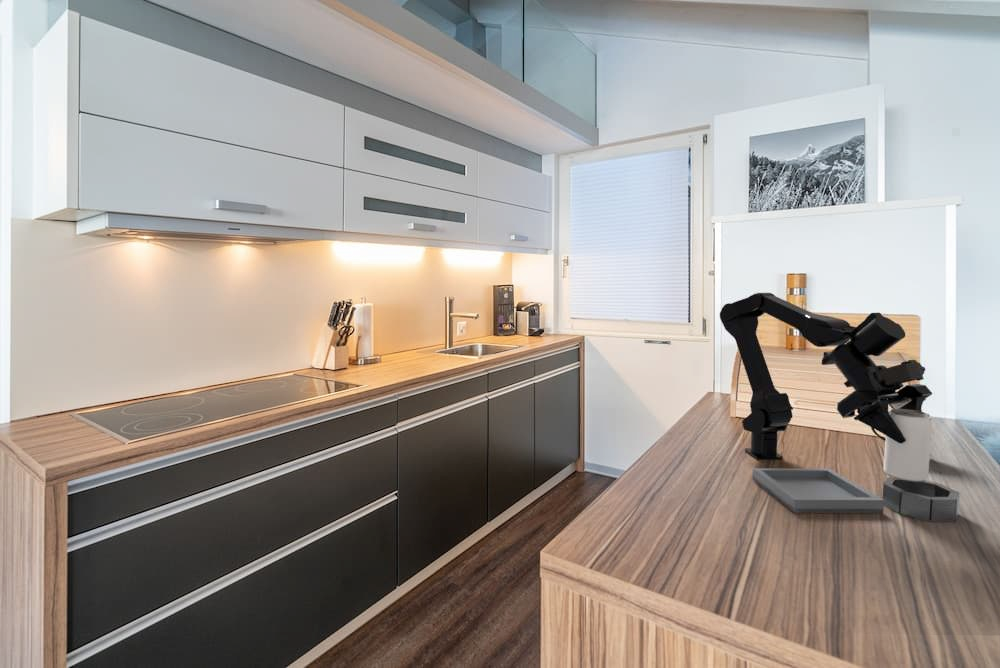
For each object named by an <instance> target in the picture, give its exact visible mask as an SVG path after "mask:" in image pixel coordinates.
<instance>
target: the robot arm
mask: <svg viewBox="0 0 1000 668" xmlns="http://www.w3.org/2000/svg"><path fill="white" fill-rule="evenodd" d="M765 314H767V315H769V316H770V317H772V318H774V319H777V320H778V321H781V322H783V323H784V324H787V325H789V326H790V327H792V328H794V329H796V330H797V331H798V332H799V333H800V334H801V336H802V338H803V339H804V340H806V341H808V342H809V343H811V345H813V346H814V347H817V348H824V347H825V348H826V347H829V348H830V347H835V348H834V349H832V350H831V351H824V352H823V356H822V359H821V365H822V366H827V365H835V367H836V368H837V369H838V370H839V372H840V373H841V375H843V376H844V378H845V379H846V381H845V382H844V383H843V384H844V386H845V387H846V388H853V390H854V391H852V392H851V393H850V394H848V395H847V396H845V397H844V398H842V400H840V401H839V402H837V403H836V411H837V412H838V413H839V415H840V416H841V417H842V418H843V419H846V418H853V419H854V420H855V421H859V422H860V423H862V424H865V425H867V426H868V427H870V428H871V427H872V428H874V430H875V431H876V432H877V431H878V432H879V433H881V434H883V435H884V436H885V437H886V436H888V437H890V438H891V439H893V440H895V441H896V442H898V443H903V442H905V441H906V439H905V438H904V436H903V434H902V432H901V431H900V429H899V428H898V426H897V425H896V423H895V422H894V420H893V419H892V418H891V416H890V415H889V413H888V411H889V407H890V408H891V409H908V410H916V411H921V412H923V410H922V406H923V403H924V402H925V401H926V400H927V398H929V397H930V396H932V395H933V392H932V391H931V390H930V388H928V386H927V385H926V384H920V383H917V384H908V385H905V386H904V383H909V382H913V381H918V382H919V381H922V380H924V376H923V375H924V374H925V371H926V367H925V366H923V365H922V364H921V362H918V361H917V360H916V359H908V360H907V361H901V363H900V364H897V365H894V366H890V367H887V366H885V365H877V364H876V363H875V361H873V360H872V358H871V357H870V356H873V357H881V356H882V355H883V354H884V353H886V352H887V351H888V350H889V349H891V348H893V347H894V346H895V345H896V344H898V343H899V342H900V341H902V340H903V339H904V338H905V337H906V331H905V330H904V328H903V327H902V326H901V325H900V324H899V323H897V322H895V321H893V320H892V319H890V318H889V317H886V316H884V315H883V314H882V313H881V312H871V313H870V314H869V315H867V316H866V318H865V319H864V320H863V321H862V322H861V323H860V324H858V325H857V326H853V325H851V324H850V323H849V322H848V321H847V320H845V319H841V318H839V317H834V316H828V315H823V314H819V313H818V314H817V313H813V312H811V311H809V310H807V309H805V308H802V307H800V306H798V305H795V304H793V303H791V302H789V301H786V300H785V299H783V298H780V297H778V296H777V295H775V294H774V293H772V292H756V293H753V294H751V295H750V296H748V297H745V298H743V299H742V298H741V299H740V300H736V301H734V302H732V303H731V302H730V303H726V304H724V305H723V306H722V307H721V310H720V311H719V319H720V321H721V324H722V325H723V327H724V329H725V331H726V332H728V334H730V336H731V337H733V338H734V340H735V342H736V346H737V349H738V352H739V355H740V358H741V362H742V364H743V367H744V369H745V374H746V377H747V379H748V381H749V385H750V388H751V391H752V395H751V400H750V403H749V406H750V413H749V414H748V415H747V416H746V417H745V418H744V419H742V421H741V423H742V424H741V425H742V428H743V430H744V431H748V432H750V434H751V435H750V447H749V448H748V447H747V448H744V451H745V452H747V453H748V454H749V455H751V456H752V457H753V458H755V459H757V460H759V459H763V460H765V459H766V460H767V459H770V460H771V459H772V460H774V459H775V460H776V459H777V460H781V459H784V456H783V455H782V454H779V453H778V432H785V431H786V429H787V427H788V425H789V424H790V422H791V420H792V419H793V411H792V410H794V408H793V406H792V404H791V402H790V397H789V395H788V394H787V392H782V393H781V392H779V390H777V388H775V385H774V382H773V379H772V376H771V373H770V371H769V370H770V369H769V368H768V365H767V362H766V359H765V357H764V354H763V350H762V348H761V345H760V341H759V339H758V336H757V330H758V325H759V317H761V316H763V315H765ZM856 410H857V411H856ZM856 412H857V415H856ZM855 415H856V416H855Z"/></svg>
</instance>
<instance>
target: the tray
mask: <svg viewBox="0 0 1000 668" xmlns="http://www.w3.org/2000/svg"><path fill="white" fill-rule="evenodd" d="M752 480H753V481H754V482H755V483H756V484H757V485H759V486H760V487H761V488H762V489H763V490H765V491H766V492H767V493H769V494H770V495H771V496H772V497H773V498H775V499H776V500H777V501H778V502H780V503H781V504H782V505H783V506H784V507H786V508H787V509H788V510H790V511H791V512H792V513H794V514H884V500H883V498H881V497H879V496H878V495H876V494H873V493H872V492H871V491H869V490H867V489H866V488H863V486H860V485H859V484H856V483H855V482H853V481H852V480H850V479H848V478H846V476H845V477H844V476H842V475H841V474H839V473H838V472H836V471H834V470H832V469H830V468H826V467H825V468H814V467H813V468H811V467H809V468H806V467H805V468H801V467H800V468H798V467H796V468H794V467H793V468H790V467H789V468H782V467H781V468H780V467H779V468H778V467H777V468H775V467H772V468H771V467H770V468H767V467H766V468H763V467H761V468H755V467H754V468H752Z"/></svg>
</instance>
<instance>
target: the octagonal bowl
mask: <svg viewBox="0 0 1000 668" xmlns="http://www.w3.org/2000/svg"><path fill="white" fill-rule="evenodd" d="M882 487H883V488H882V499H883V500H884V504H883V506H886V507H887V508H889V509H890V510H892V511H893V512H896V513H897V514H900V515H901V516H902V515H903V516H907V517H909V518H910V517H911V518H915V519H918V520H923V521H926V522H932V523H933V522H935V523H937V522H938V523H942V522H943V523H946V522H947V523H950V522H951V523H954V522H957V521H956V520H957V518H958V516H959V506H960V494H961V493H960V492H959V491H957V490H954V489H953V488H950V487H948V486H946V485H943V484H942V483H939V482H934V481H931V480H930V481H929V480H925V481H922V482H912V481H905V480H900V479H897V478H893V477H891V476H889V477H887V478H886V479H885V480H884V482H883V485H882Z"/></svg>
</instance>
